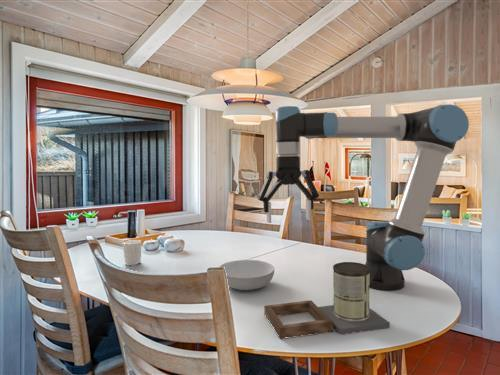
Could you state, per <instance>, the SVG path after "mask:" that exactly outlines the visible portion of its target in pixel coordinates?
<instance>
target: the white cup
mask: <svg viewBox="0 0 500 375" xmlns="http://www.w3.org/2000/svg"><path fill="white" fill-rule="evenodd" d="M122 248H123V258H124V264H125V263H126V264H128V265H127V266H129V265H133V264H138V263H140V264H141V262H142V261H141V260H142V240H140V239H139V240H138V239H131V240H130V239H129V240H126V241H123V242H122ZM138 265H139V264H138ZM133 266H134V265H133Z"/></svg>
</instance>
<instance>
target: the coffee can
mask: <svg viewBox="0 0 500 375" xmlns="http://www.w3.org/2000/svg"><path fill="white" fill-rule="evenodd" d="M365 264H366V263H361V262H353V261H341V262H338V263H334V264H333V266H332V270H333V305H334V311H333V313H334V315H335V316H336V317H337V318H339V319H342V320H345V321H351V322H359V321H364V320H367V319H368V318H369V316H370V315H369V308H370V267H369V266H367V265H365Z"/></svg>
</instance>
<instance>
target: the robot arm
mask: <svg viewBox="0 0 500 375" xmlns="http://www.w3.org/2000/svg"><path fill="white" fill-rule="evenodd" d="M469 125H470V121H469V118H468V115H467V114H466V112H465V111H464V109H462V108H461V107H460V106H458V105H455V104H439V105H437V106H434V107H430V108H425V109H422V110H418V111H414V112H408V113H398V114H397V115H396V116H338V115H337V113H335V112H328V111H326V112H301V111H300V108H299V106H292V105H291V106H290V105H287V106H285V105H284V106H280V107H278V108H277V109H276V111H275V142H276V143H275V145H276V147H275V151H276V152H275V153H276V155H277V157H276V158H275V159H276V163H275V164H276V170H275V171H269V170H268V171H267V172H266V178H265V180H264V182H263V185H262V187H261V190H260V191H259V194H258V196H257V200H258V201H260V202H263V213H266V222H267V223H268V224H272V202H270V200H271V199H272V198H273V196H274V195H276V192H278V190H279V189H280V187H281V186H282V185H284V186H287V185H295V186H297V187H298V189H299V190H300V191H301V193H303V194H304V195H305V196H306V198H307V199H305V219H306V220H308V221H311V220H312V210H314V201H315V200H316V199H319V197H320V194H319V193H318V191H317V188H316V187H315V184H314V182H313V180H312V178H311V173H310V170H309V169H304V170H301V157H300V156H299V155H300V154H301V148H300V146H301V145H300V143H301V142H300V141H301V140H300V138H301V137H302V138H304V139H307V140H313V139H395V140H396V141H397V142H400V141H401V142H404V141H405V142H413V143H414V145H415V146H416V148H417V150H416V153H415V156H414V159H413V162H412V165H411V168H410V171H409V174H408V176H407V180H406V182H405V185H404V188H403V191H402V195H401V197H400V201H399V203H398V206H397V209H396V212H395V215H394V217H393V218H392V219H391V220H388V221H370V222H368V223H367V224H366V230H365V232H366V239H365V240H366V244H365V245H366V248H365V249H366V250H365V251H366V252H365V253H366V256H365V257H366V260H365V263H364V264H365V265H367V266H369V267H370V287H369V289H375V290H382V291H396V290H397V291H398V290H400V289H404V288H405V283H406V280H405V277H404V274H403V271H409V270H412V269H414V268H417V267H418V266H419V265H420V264H421V263H422V262H423V260H424V257H425V253H426V250H425V247H424V244H423V240H424V237H425V234H426V232H425V230H424V229H423V223H424V221H425V218H426V215H427V212H428V209H429V205H430V204H431V200H432V197H433V195H434V191H435V189H436V185H437V183H438V181H439V178H440V174H441V171H442V168H443V166H444V162H445V159H446V157H447V156H448V155H450V154H452V153H453V152H454V151H455V147H456V144H457V142H458V141H461V139H463V138H464V137H465V136H466V135H467V133H468V130H469V127H470V126H469ZM301 176H302V178H304V181H305V183H306V184H307V187H308V188H307V187H306V186H305V185H304V183H303V181H301V179H300V177H301ZM275 177H276V179H277V180H276V181H275V183H274V184H273V186H272V187H271V188H270V190H269V187H270V185H271V183H272V181H273V179H275ZM308 189H309V190H308ZM268 190H269V191H268Z"/></svg>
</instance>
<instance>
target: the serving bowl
mask: <svg viewBox="0 0 500 375" xmlns="http://www.w3.org/2000/svg"><path fill="white" fill-rule="evenodd" d="M219 267H225V270H226V273H227V279H228V285H229V288H231V289H233V290H239V291H251V290H253V291H254V290H257V289H261V288H264V287H265V286H267V285H269V284H270V282H271V281H272V280H273V277H274V276H275V275H274V274H275V267H274V265H273V264H272V263H269V262H267V261H262V260H254V259H240V260H232V261H228V262H225V263H221V264H220V265H219ZM219 267H218V268H219Z"/></svg>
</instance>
